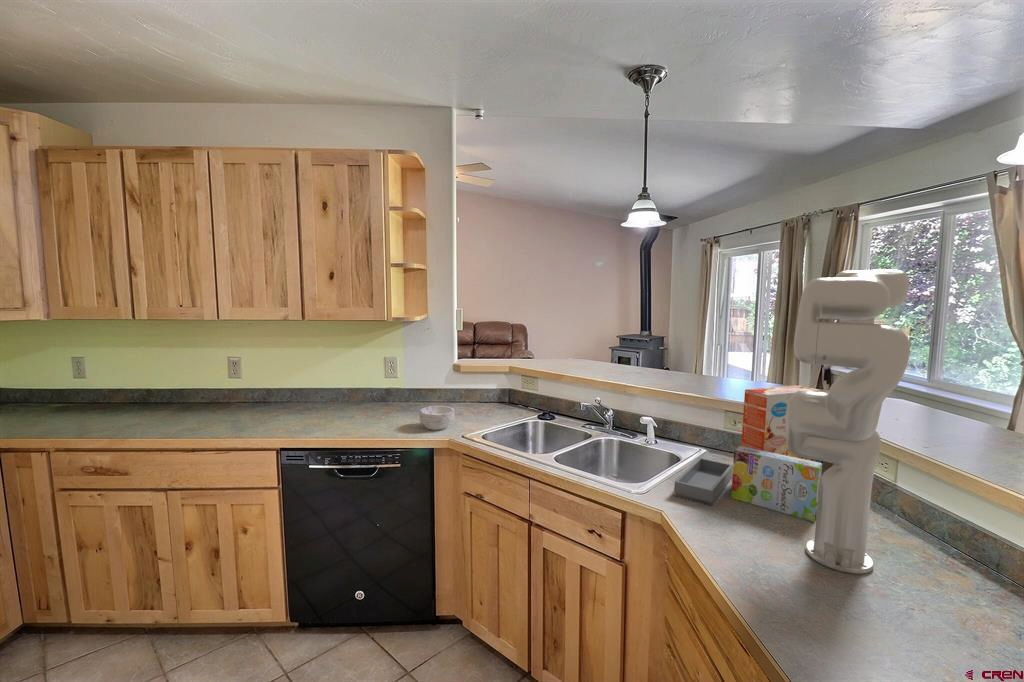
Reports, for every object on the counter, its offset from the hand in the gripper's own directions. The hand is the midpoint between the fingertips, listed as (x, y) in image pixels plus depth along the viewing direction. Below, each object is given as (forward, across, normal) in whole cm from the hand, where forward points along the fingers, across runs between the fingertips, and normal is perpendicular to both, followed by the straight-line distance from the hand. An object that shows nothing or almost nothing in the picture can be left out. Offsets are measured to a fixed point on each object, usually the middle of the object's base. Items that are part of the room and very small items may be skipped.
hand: (850, 385), depth 121 cm
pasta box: (+36, -16, +18) cm, 44 cm away
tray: (+36, -34, 0) cm, 50 cm away
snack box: (+36, -15, -3) cm, 40 cm away
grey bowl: (+36, -145, 0) cm, 150 cm away
